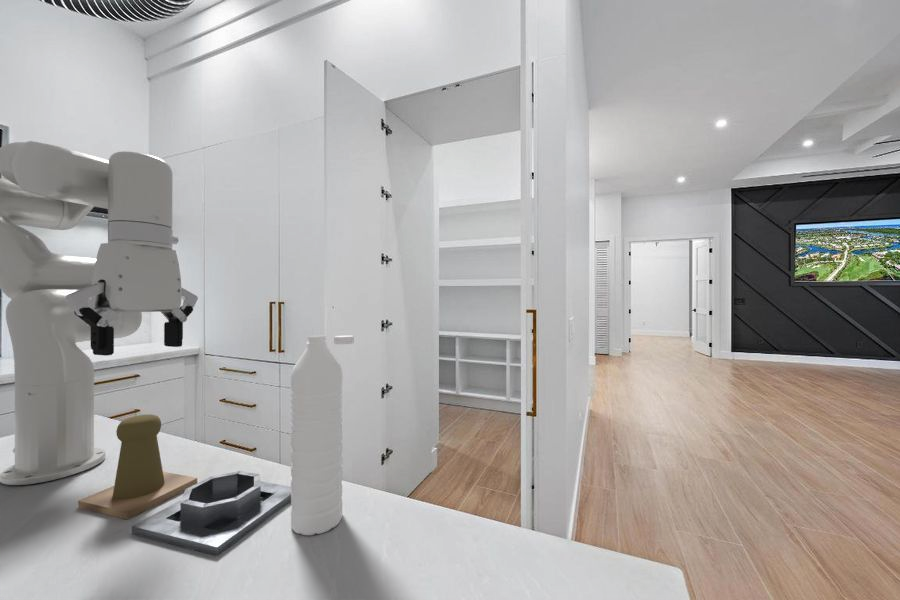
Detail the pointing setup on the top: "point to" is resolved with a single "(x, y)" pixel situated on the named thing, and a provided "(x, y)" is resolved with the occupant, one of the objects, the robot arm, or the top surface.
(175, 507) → the grey octagonal holder
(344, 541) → the top surface
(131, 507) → the coaster board
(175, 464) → the top surface
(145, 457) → the cork
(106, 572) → the top surface
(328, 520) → the water bottle
